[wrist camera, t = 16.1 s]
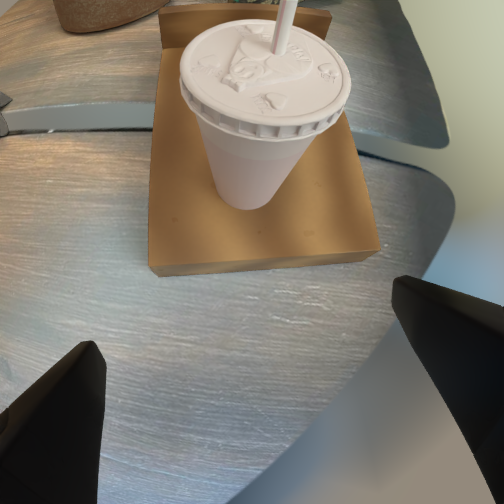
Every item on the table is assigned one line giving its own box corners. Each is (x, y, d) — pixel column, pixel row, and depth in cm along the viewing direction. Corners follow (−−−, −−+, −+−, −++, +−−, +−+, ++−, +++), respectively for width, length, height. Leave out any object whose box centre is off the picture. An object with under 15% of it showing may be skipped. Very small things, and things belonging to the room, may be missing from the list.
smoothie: (316, 180, 20) (423, -8, 6) (253, 254, 18) (336, 40, 4) (239, 124, 20) (266, -74, 7) (171, 187, 18) (121, -35, 5)
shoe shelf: (311, 64, 27) (329, 10, 20) (361, 261, 22) (415, 228, 15) (166, 65, 25) (159, 7, 18) (158, 277, 20) (129, 245, 13)
